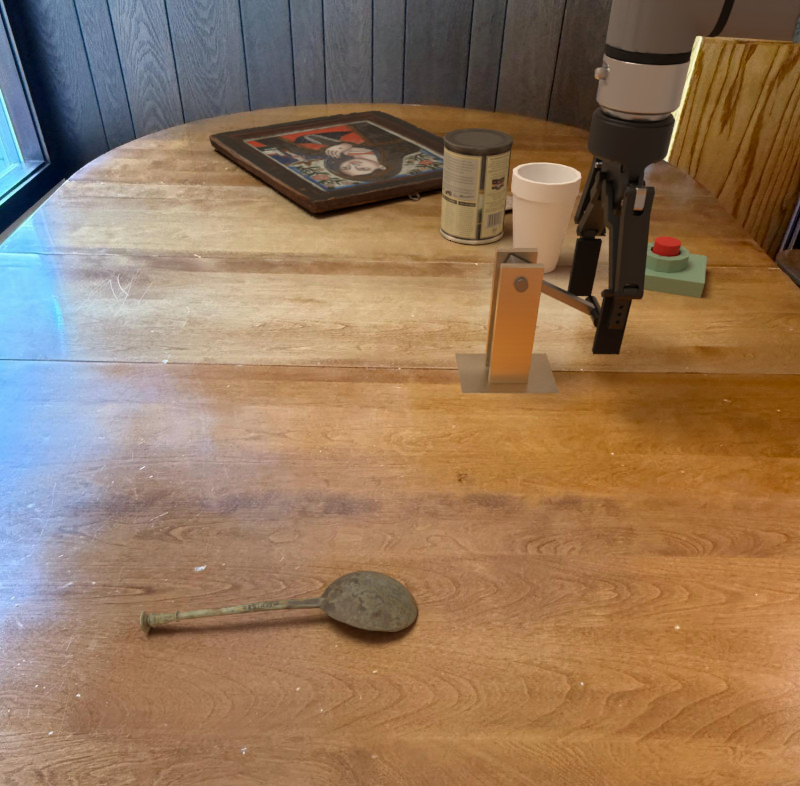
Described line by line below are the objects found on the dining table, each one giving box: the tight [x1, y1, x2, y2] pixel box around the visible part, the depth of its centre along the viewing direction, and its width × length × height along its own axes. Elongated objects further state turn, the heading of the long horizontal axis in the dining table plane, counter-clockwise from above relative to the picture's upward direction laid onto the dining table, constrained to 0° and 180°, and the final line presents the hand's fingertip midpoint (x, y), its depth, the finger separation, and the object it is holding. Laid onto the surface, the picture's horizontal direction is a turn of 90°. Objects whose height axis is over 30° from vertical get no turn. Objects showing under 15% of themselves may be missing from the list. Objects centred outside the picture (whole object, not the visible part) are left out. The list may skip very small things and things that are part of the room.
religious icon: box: [208, 110, 444, 214], centre depth 148 cm, size 40×45×3 cm
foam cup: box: [510, 161, 582, 274], centre depth 111 cm, size 10×9×13 cm
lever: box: [506, 255, 601, 328], centre depth 83 cm, size 12×5×2 cm, turn 92°
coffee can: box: [439, 127, 514, 245], centre depth 119 cm, size 10×10×14 cm
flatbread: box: [505, 195, 513, 212], centre depth 133 cm, size 8×8×1 cm
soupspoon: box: [139, 570, 419, 634], centre depth 62 cm, size 22×3×7 cm
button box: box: [626, 241, 708, 299], centre depth 111 cm, size 12×10×4 cm
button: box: [652, 236, 682, 257], centre depth 110 cm, size 4×4×2 cm
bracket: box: [454, 247, 560, 395], centre depth 85 cm, size 11×9×15 cm
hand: (591, 322), depth 86 cm, fingers open, 13 cm apart
